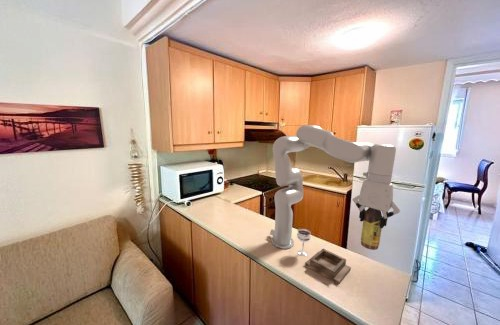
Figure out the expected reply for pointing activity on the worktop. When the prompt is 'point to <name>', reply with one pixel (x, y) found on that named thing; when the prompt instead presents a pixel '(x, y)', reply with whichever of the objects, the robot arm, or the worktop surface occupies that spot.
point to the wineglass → (303, 239)
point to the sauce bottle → (371, 229)
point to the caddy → (329, 265)
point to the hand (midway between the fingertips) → (371, 223)
